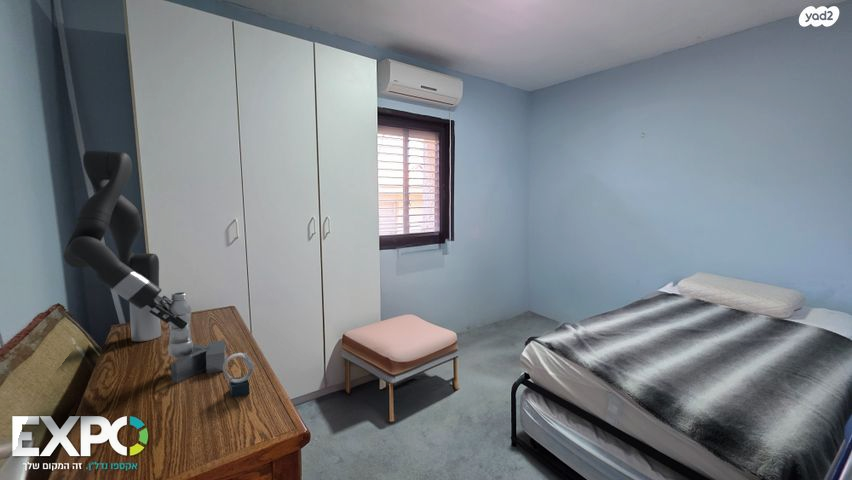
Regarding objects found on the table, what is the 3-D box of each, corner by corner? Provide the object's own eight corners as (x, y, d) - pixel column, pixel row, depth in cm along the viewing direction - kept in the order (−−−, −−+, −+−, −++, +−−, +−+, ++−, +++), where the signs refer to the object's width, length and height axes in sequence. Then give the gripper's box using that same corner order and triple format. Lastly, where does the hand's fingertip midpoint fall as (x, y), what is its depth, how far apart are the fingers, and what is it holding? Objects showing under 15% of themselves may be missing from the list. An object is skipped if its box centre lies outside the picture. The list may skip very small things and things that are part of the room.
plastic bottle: (181, 361, 110) (179, 296, 109) (162, 358, 112) (160, 295, 110) (198, 353, 117) (196, 292, 115) (180, 351, 118) (178, 290, 116)
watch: (257, 391, 102) (256, 354, 102) (224, 400, 98) (223, 360, 97) (253, 383, 107) (252, 347, 106) (222, 391, 102) (220, 353, 101)
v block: (179, 360, 122) (179, 343, 122) (226, 353, 128) (225, 336, 128) (171, 384, 106) (170, 364, 105) (224, 374, 112) (224, 356, 112)
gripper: (143, 284, 102) (193, 320, 109) (153, 276, 115) (198, 308, 122) (120, 305, 100) (173, 340, 107) (132, 294, 113) (179, 326, 120)
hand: (186, 323), depth 114 cm, fingers closed on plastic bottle, 6 cm apart
